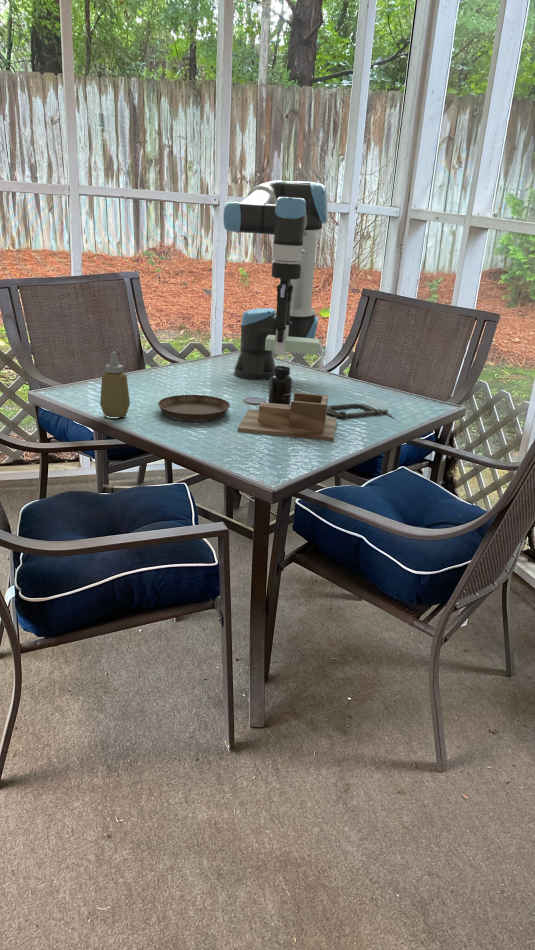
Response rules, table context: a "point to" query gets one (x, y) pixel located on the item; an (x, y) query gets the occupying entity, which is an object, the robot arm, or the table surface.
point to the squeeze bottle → (114, 389)
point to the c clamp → (367, 408)
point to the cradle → (292, 418)
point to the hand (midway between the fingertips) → (280, 351)
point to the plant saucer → (194, 407)
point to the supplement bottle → (280, 386)
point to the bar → (295, 344)
